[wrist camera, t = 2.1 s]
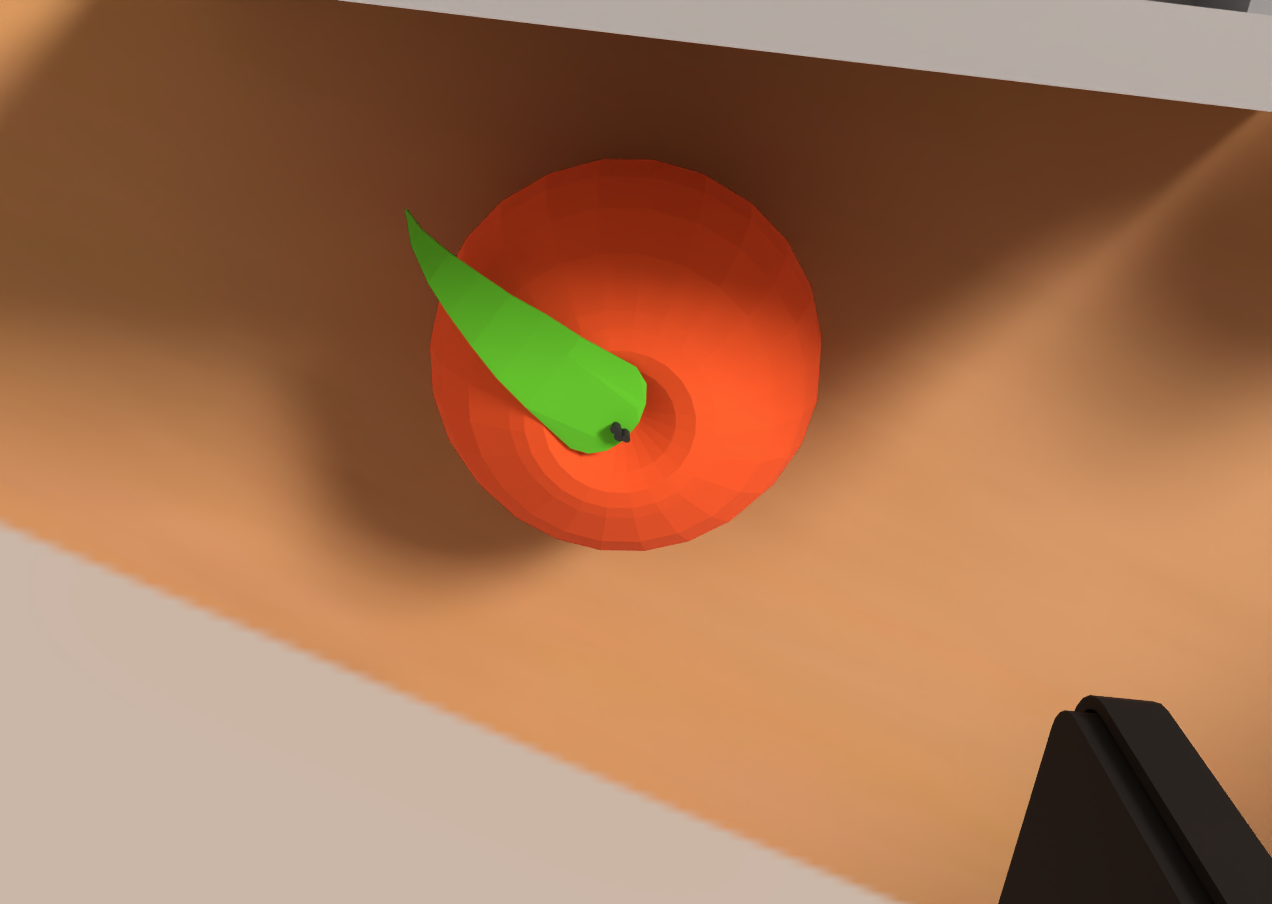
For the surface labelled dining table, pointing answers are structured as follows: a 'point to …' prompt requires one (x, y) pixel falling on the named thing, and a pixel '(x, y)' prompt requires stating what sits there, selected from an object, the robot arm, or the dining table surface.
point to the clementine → (623, 353)
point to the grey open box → (959, 37)
